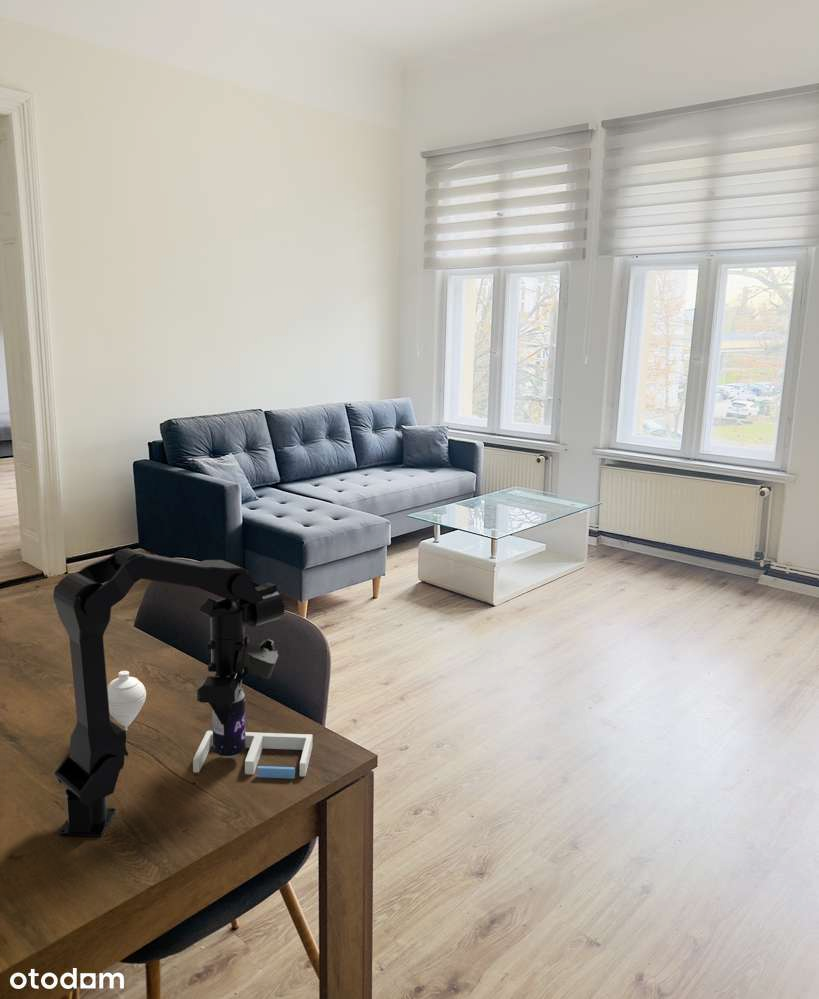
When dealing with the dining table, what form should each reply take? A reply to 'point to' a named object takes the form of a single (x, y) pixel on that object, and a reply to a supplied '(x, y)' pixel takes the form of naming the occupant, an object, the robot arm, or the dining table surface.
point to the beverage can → (230, 730)
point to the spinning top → (125, 698)
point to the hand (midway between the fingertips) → (228, 715)
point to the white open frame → (256, 745)
